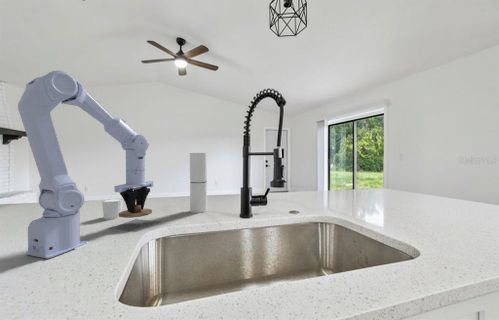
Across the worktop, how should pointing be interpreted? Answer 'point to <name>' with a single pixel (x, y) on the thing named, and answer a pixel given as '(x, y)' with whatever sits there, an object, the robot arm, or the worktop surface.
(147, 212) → the walnut lid
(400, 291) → the worktop surface
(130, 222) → the rubber mat
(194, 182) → the cylindrical container
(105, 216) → the white cup
